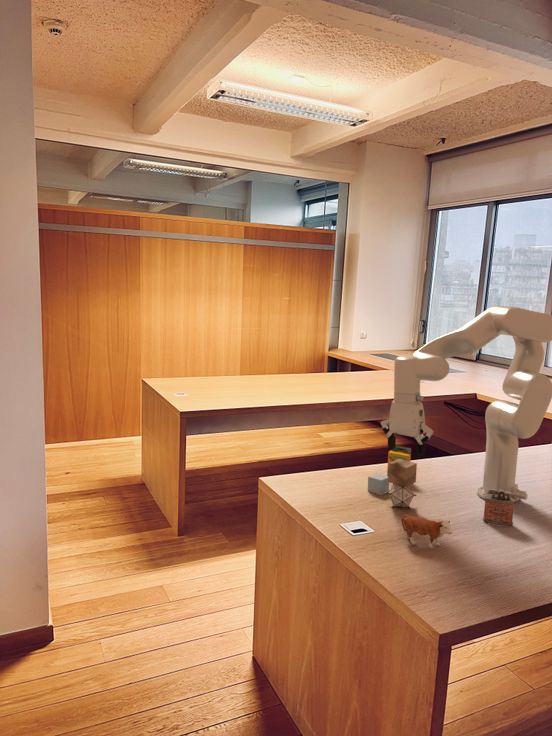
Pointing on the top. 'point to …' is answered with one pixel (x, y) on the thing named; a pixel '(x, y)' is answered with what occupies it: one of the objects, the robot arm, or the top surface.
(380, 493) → the slate block
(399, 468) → the walnut block
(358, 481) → the top surface
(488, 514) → the lighter
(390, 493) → the game die
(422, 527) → the bull figurine
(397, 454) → the crayon box
